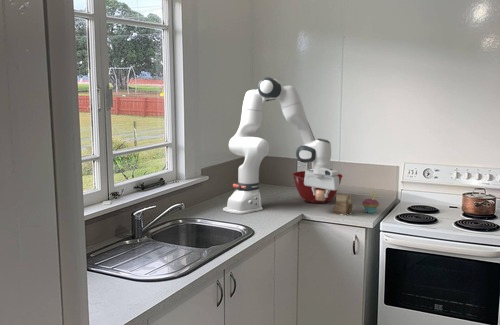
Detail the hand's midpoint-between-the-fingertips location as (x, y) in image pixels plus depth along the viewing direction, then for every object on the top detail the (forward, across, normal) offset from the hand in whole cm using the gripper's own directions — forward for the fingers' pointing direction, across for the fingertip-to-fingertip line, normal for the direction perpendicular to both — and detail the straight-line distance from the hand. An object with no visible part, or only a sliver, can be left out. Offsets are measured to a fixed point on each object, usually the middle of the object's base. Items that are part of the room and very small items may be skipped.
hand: (320, 196), depth 269 cm
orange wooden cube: (+2, 0, 0) cm, 2 cm away
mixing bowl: (+8, -18, +23) cm, 30 cm away
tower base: (+9, +9, +8) cm, 15 cm away
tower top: (+4, +9, +8) cm, 13 cm away
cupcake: (+8, +18, +20) cm, 28 cm away
